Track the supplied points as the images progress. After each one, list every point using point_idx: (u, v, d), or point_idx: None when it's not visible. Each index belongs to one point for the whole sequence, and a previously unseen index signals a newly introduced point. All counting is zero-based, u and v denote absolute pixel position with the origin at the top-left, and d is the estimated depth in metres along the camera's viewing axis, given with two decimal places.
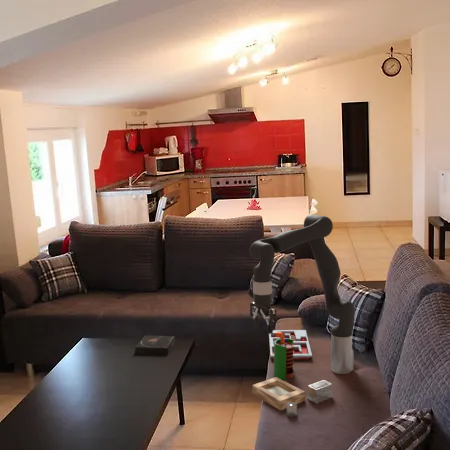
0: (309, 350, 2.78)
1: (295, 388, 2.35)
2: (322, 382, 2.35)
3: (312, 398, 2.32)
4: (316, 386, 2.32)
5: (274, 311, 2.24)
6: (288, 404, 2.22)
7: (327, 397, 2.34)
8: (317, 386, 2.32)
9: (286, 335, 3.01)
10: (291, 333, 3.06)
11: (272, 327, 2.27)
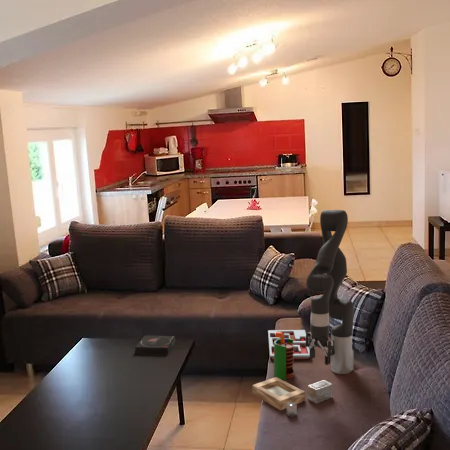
0: (308, 350, 2.79)
1: (295, 388, 2.35)
2: (322, 382, 2.35)
3: (312, 398, 2.32)
4: (316, 386, 2.32)
5: (332, 343, 2.25)
6: (288, 404, 2.22)
7: (327, 397, 2.34)
8: (317, 386, 2.32)
9: (285, 335, 3.01)
10: (290, 333, 3.06)
11: (330, 358, 2.28)
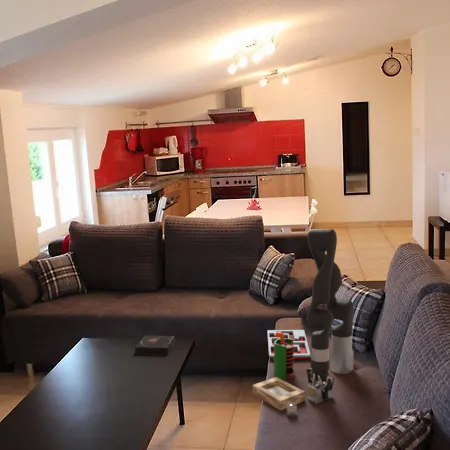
0: (308, 350, 2.79)
1: (295, 388, 2.35)
2: None
3: (312, 398, 2.32)
4: (316, 386, 2.32)
5: (332, 380, 2.28)
6: (288, 404, 2.22)
7: None
8: (317, 386, 2.32)
9: (284, 335, 3.01)
10: (289, 333, 3.06)
11: (327, 394, 2.31)
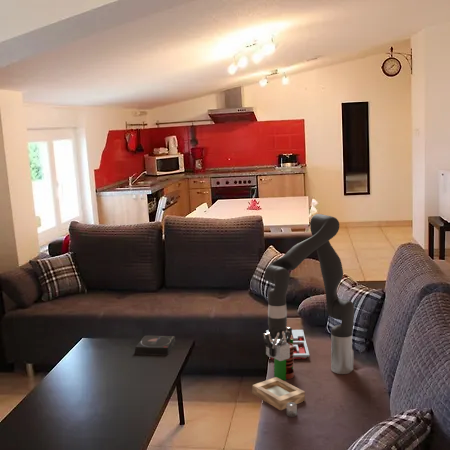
0: (306, 350, 2.79)
1: (295, 388, 2.35)
2: (282, 342, 2.31)
3: None
4: None
5: (265, 336, 2.28)
6: (288, 404, 2.22)
7: (275, 356, 2.31)
8: None
9: None
10: None
11: (271, 351, 2.31)
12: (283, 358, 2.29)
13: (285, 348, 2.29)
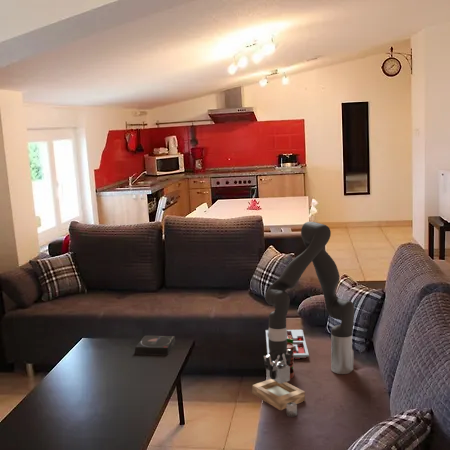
0: (306, 350, 2.79)
1: (295, 388, 2.35)
2: (282, 365, 2.33)
3: None
4: None
5: (265, 359, 2.29)
6: (288, 404, 2.22)
7: (276, 379, 2.32)
8: None
9: None
10: (288, 333, 3.07)
11: (271, 373, 2.32)
12: (283, 380, 2.31)
13: (285, 371, 2.31)
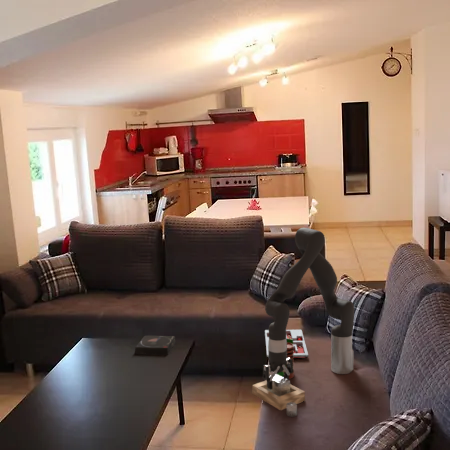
0: (305, 349, 2.79)
1: (295, 388, 2.35)
2: (282, 379, 2.34)
3: None
4: None
5: (265, 368, 2.30)
6: (288, 404, 2.22)
7: (276, 393, 2.33)
8: (273, 377, 2.36)
9: None
10: (287, 333, 3.07)
11: (268, 383, 2.32)
12: None
13: (285, 385, 2.32)
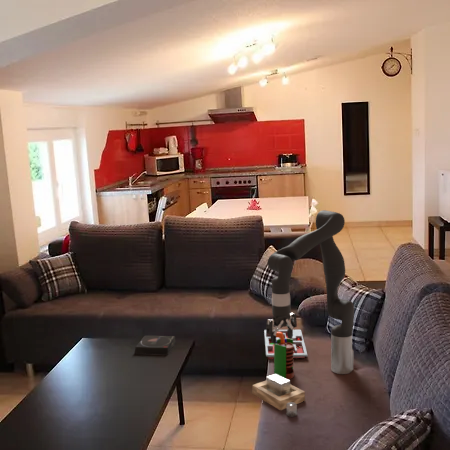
0: (304, 349, 2.79)
1: (295, 388, 2.35)
2: (282, 379, 2.34)
3: None
4: (273, 376, 2.37)
5: (268, 322, 2.29)
6: (288, 404, 2.22)
7: (276, 393, 2.33)
8: (273, 377, 2.36)
9: None
10: (286, 333, 3.07)
11: (272, 338, 2.31)
12: None
13: (285, 385, 2.32)
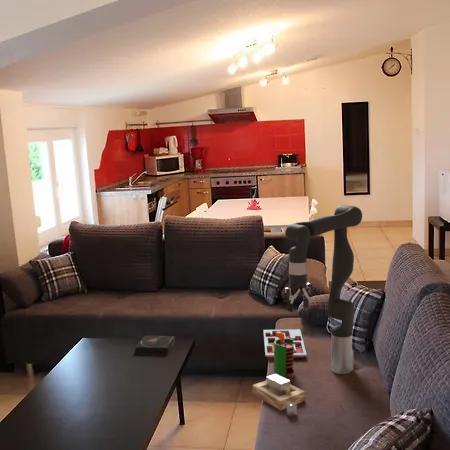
0: (304, 349, 2.80)
1: (295, 388, 2.35)
2: (282, 379, 2.34)
3: None
4: (273, 376, 2.37)
5: (286, 290, 2.36)
6: (288, 404, 2.22)
7: (276, 393, 2.33)
8: (273, 377, 2.36)
9: None
10: (286, 332, 3.07)
11: (289, 306, 2.37)
12: None
13: (285, 385, 2.32)
